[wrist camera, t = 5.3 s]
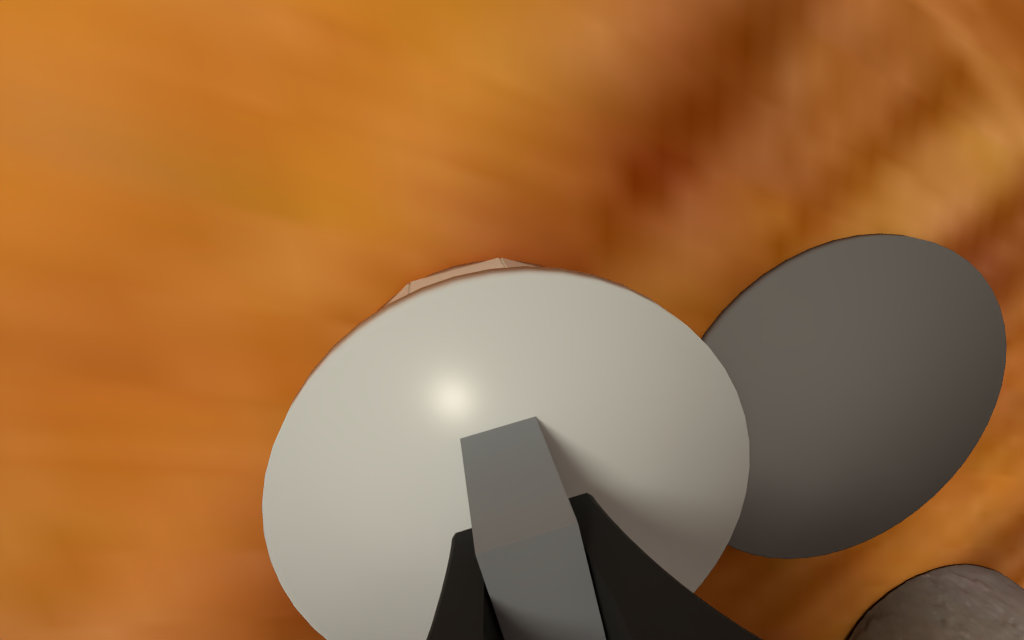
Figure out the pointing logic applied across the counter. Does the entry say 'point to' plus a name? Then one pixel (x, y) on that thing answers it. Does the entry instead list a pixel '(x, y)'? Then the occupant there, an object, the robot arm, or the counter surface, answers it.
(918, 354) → the mat
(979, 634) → the pillar candle
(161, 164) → the counter surface
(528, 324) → the lid
